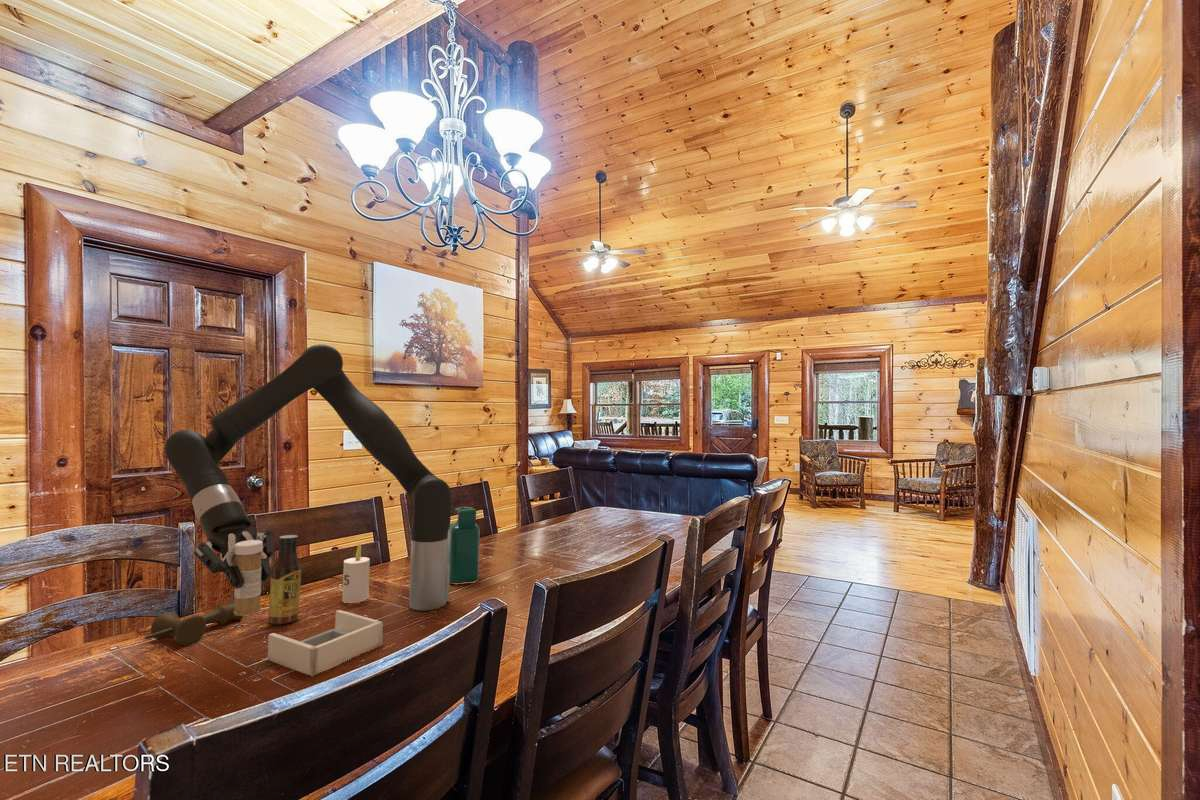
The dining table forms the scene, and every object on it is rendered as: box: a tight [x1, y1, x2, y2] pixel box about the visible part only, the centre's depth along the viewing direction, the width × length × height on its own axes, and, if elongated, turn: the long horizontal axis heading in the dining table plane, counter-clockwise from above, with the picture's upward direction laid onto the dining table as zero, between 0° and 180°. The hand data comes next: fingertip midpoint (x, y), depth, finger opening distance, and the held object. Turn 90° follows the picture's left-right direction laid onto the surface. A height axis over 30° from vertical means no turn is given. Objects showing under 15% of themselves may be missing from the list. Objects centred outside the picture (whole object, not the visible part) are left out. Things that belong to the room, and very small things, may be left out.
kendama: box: [144, 598, 244, 647], centre depth 120 cm, size 6×10×20 cm
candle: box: [342, 542, 371, 604], centre depth 143 cm, size 6×6×15 cm
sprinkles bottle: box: [233, 539, 263, 617], centre depth 104 cm, size 5×5×14 cm
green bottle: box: [447, 506, 481, 584], centre depth 161 cm, size 10×8×22 cm
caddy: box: [267, 609, 384, 677], centre depth 112 cm, size 16×14×5 cm
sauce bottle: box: [268, 534, 302, 626], centre depth 128 cm, size 6×6×20 cm
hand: (254, 581), depth 103 cm, fingers closed on sprinkles bottle, 4 cm apart
